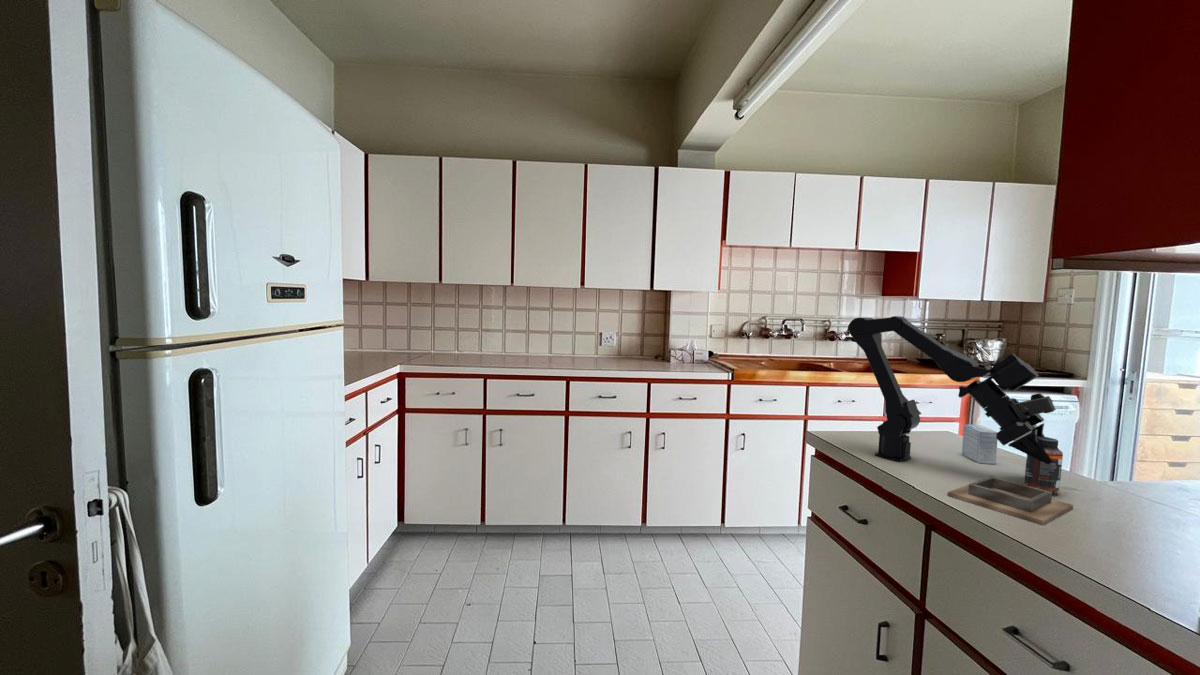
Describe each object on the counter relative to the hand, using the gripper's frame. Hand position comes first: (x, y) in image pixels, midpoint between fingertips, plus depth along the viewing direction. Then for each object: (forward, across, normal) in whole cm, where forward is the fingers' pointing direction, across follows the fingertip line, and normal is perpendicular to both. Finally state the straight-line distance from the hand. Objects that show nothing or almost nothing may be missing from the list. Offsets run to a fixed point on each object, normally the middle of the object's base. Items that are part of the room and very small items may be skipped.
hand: (1052, 460), depth 110 cm
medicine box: (-6, +18, +17) cm, 25 cm away
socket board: (+2, -15, +8) cm, 17 cm away
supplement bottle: (+4, 0, +6) cm, 7 cm away
